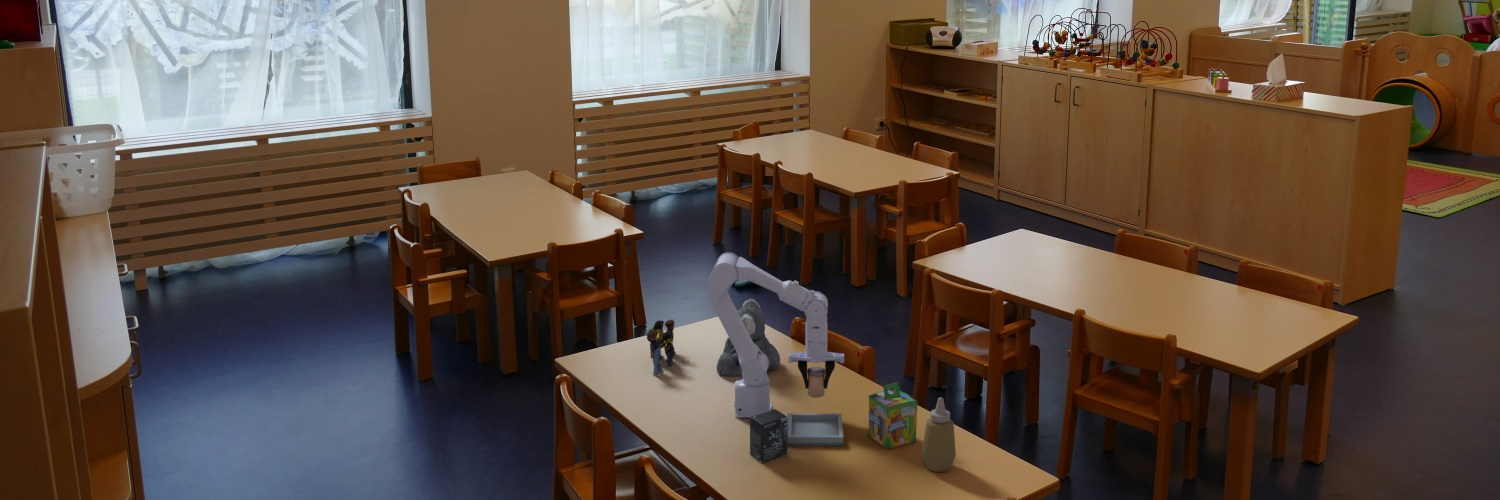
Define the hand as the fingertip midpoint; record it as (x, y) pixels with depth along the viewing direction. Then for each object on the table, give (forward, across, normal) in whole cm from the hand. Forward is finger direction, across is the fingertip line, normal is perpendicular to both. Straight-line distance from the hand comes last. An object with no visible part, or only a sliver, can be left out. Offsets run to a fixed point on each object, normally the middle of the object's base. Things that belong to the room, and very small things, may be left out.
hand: (816, 387), depth 310 cm
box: (+8, -12, -24) cm, 28 cm away
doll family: (+8, -45, +34) cm, 57 cm away
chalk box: (+8, +19, -15) cm, 26 cm away
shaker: (+2, 0, 0) cm, 2 cm away
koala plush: (+8, -19, +32) cm, 38 cm away
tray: (+8, 0, -12) cm, 14 cm away
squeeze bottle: (+8, +29, -30) cm, 43 cm away
